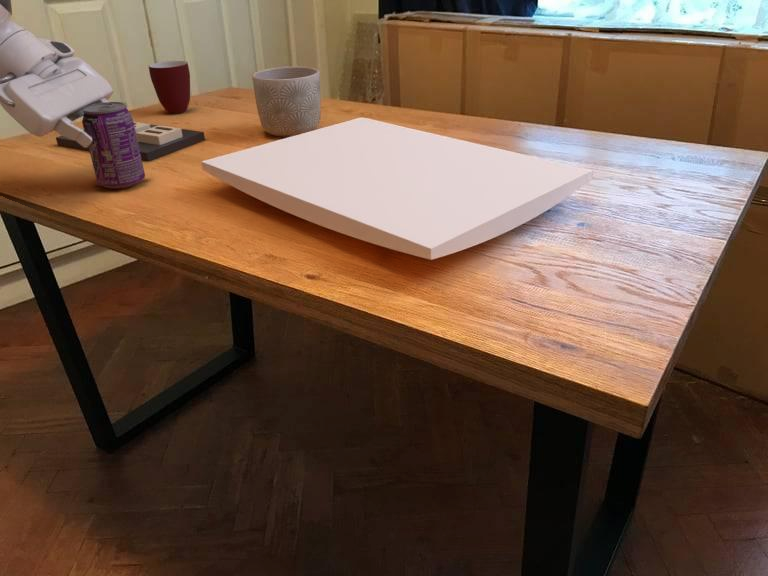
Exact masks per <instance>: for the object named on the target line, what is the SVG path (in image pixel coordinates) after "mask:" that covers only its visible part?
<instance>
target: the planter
mask: <svg viewBox="0 0 768 576" xmlns="http://www.w3.org/2000/svg"><path fill="white" fill-rule="evenodd" d="M320 73H321V72H320V69H318V68H315V67H311V66H278V67H271V68H270V67H269V68H266V69H265V68H264V69H261V70H258V71H255V72H253V73H252V74H251V77H252V78H251V79H252V85H253V91H254V92H253V93H254V98H255V104H256V108H257V114H258V118H259V122H260V126H261V127H262V129H263V131H265V132H266V133H268V134H270V135H271V136H276V137H282V138H288V137H292V136H295V135H299V134H303V133H306V132H310V131H314V130H317V129H318V128H319V125H320V124H321V115H322V98H321V97H322V96H321V75H320Z"/></svg>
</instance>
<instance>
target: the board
mask: <svg viewBox="0 0 768 576" xmlns="http://www.w3.org/2000/svg"><path fill="white" fill-rule="evenodd" d="M200 161H201V160H200ZM201 169H202V171H204V172H206V173H208V174H209V175H211V176H212V177H214V178H216V179H218V180H220V181H222V182H223V183H225V184H227V185H229V186H230V187H233V188H235V189H237V190H239V191H240V192H243V193H245V194H246V195H249V196H251V197H253V198H255V199H257V200H259V201H261V202H263V203H266V204H267V205H269V206H272V207H274V208H276V209H279V210H281V211H283V212H286V213H288V214H289V215H290V214H291V215H293V216H296V217H297V218H300V219H303V220H305V221H308V222H310V223H313V224H316V225H318V226H320V227H323V228H326V229H329V230H331V231H335V232H336V233H340V234H343V235H346V236H349V237H352V238H355V239H357V240H360V241H364V242H366V243H370V244H373V245H376V246H379V247H382V248H386V249H390V250H394V251H396V252H400V253H404V254H408V255H411V256H414V257H418V258H423V259H427V260H430V261H432V260H435V259H438V258H442V257H446V256H449V255H452V254H455V253H457V252H460V251H463V250H466V249H470V248H472V247H474V246H477V245H480V244H482V243H485V242H488V241H489V240H492V239H495V238H496V237H499V236H501V235H503V234H505V233H508V232H510V231H512V230H514V229H516V228H518V227H520V226H522V225H524V224H526V223H528V222H529V221H531V220H533V219H534V218H537V217H539V216H540V215H542V214H544V213H545V212H547V211H549V210H551V209H552V208H553V207H555V206H556V205H558V204H560V203H561V202H563V201H564V200H566V199H567V198H569V197H570V196H572V195H573V194H575V193H576V192H577V191H579V190H580V189H582V188H583V187H584V186H586V185H587V184H588V183H589V182H591V181H593V177H594V176H593V175H594V170H592V169H590V168H589V169H588V168H584V167H581V166H577V165H572V164H571V165H570V164H567V163H564V162H563V163H562V162H558V161H554V160H549V159H545V158H541V157H536V156H532V155H529V154H524V153H519V152H515V151H511V150H507V149H501V148H498V147H494V146H493V147H492V146H489V145H485V144H480V143H476V142H472V141H468V140H464V139H459V138H454V137H450V136H446V135H442V134H437V133H432V132H428V131H424V130H420V129H415V128H410V127H408V126H407V127H406V126H402V125H398V124H393V123H390V122H386V121H381V120H376V119H372V118H367V117H364V116H361V117H357V118H353V119H350V120H347V121H343V122H339V123H336V124H332V125H329V126H328V125H327V126H324V127H321V128H316V129H315V130H314V131H310V132H306V133H303V134H299V135H295V136H291V137H284V138H282V139H277V140H274V141H270V142H267V143H263V144H260V145H256V146H251V147H249V148H246V149H242V150H241V149H240V150H238V151H234V152H231V153H227V154H224V155H219V156H217V157H211V158H209V159H205V160H202V161H201Z"/></svg>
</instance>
